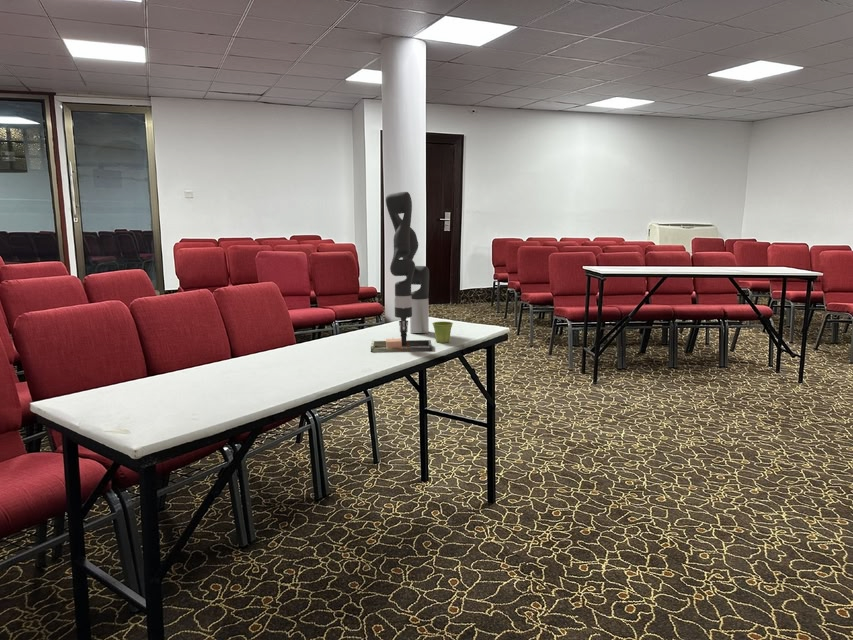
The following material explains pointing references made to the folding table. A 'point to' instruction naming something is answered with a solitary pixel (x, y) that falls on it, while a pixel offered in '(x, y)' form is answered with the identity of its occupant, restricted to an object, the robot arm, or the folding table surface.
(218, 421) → the folding table surface
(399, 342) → the block
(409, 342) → the trap track
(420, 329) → the robot arm
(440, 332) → the plant pot
